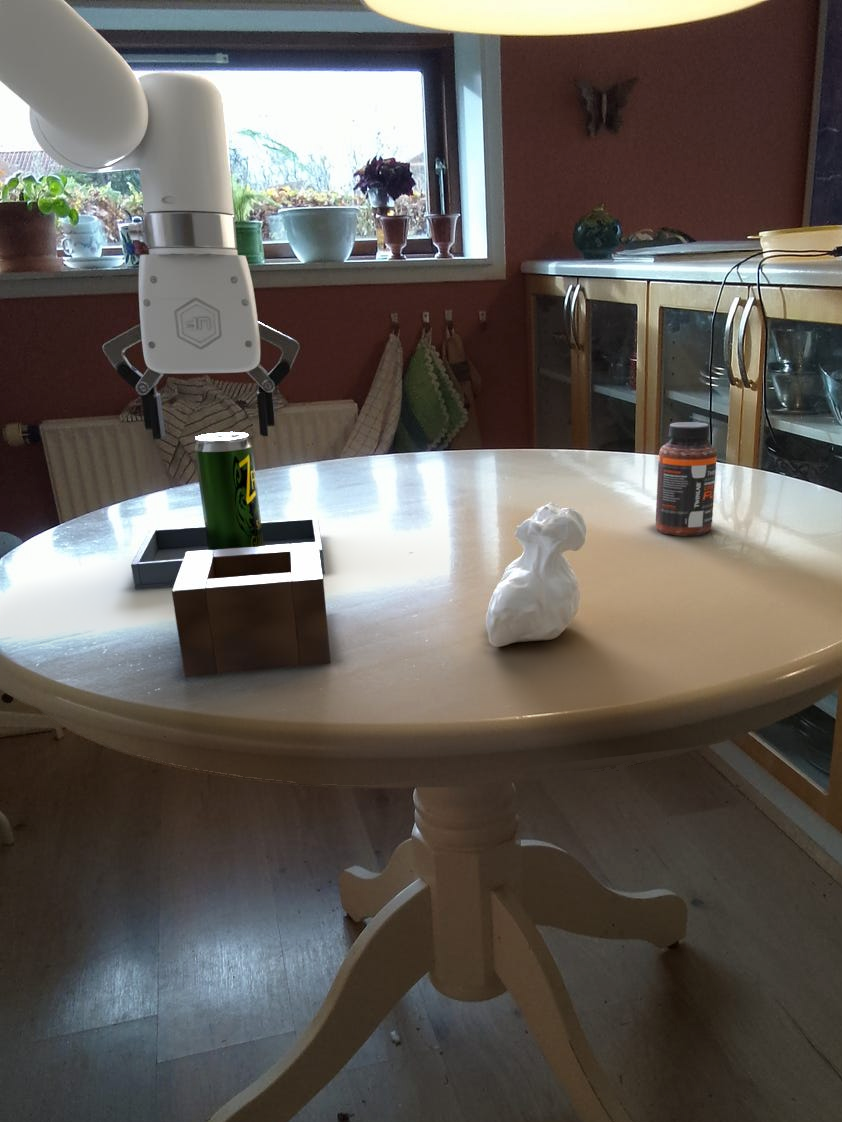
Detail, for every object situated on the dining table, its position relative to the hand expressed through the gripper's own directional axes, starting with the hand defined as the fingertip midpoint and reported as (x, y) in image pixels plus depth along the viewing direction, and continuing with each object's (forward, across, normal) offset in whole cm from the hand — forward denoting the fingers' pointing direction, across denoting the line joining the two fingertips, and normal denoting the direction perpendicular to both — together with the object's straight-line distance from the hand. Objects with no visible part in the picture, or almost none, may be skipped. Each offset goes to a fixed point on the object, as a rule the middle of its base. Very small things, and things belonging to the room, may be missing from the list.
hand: (212, 435), depth 87 cm
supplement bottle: (+12, +48, -1) cm, 49 cm away
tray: (+13, +1, 0) cm, 13 cm away
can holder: (+13, +4, -24) cm, 27 cm away
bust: (+12, +25, -27) cm, 39 cm away
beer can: (+12, +1, 0) cm, 12 cm away
